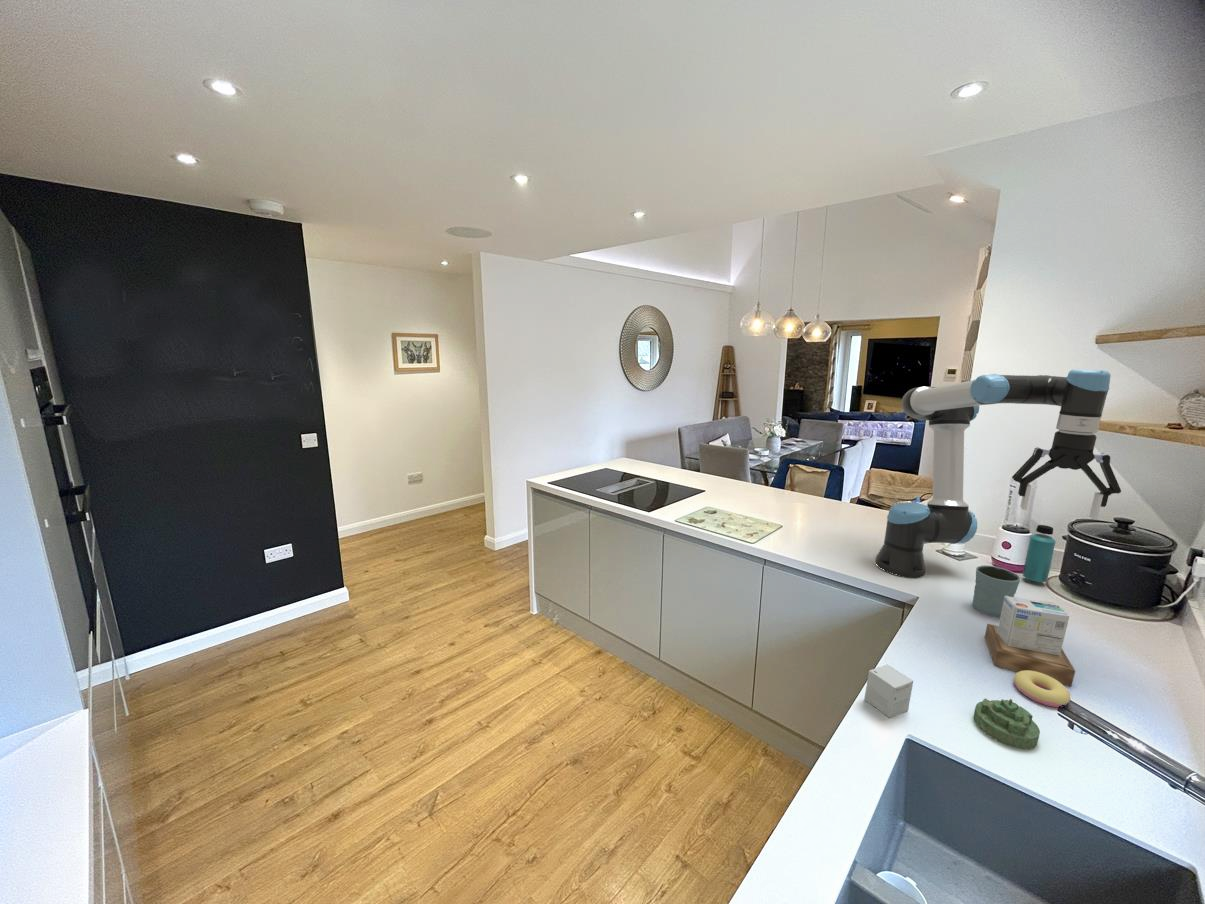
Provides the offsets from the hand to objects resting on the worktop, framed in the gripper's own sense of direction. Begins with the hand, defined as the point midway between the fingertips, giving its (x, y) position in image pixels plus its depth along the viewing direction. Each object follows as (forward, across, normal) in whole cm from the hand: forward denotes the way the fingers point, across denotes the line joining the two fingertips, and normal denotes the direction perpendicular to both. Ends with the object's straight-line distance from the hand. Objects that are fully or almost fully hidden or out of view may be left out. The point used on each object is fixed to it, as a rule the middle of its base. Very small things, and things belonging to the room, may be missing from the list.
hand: (1057, 513), depth 123 cm
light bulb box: (+31, -4, -16) cm, 35 cm away
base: (+35, -4, -16) cm, 38 cm away
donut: (+35, -4, -30) cm, 46 cm away
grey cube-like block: (+35, -34, -53) cm, 72 cm away
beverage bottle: (+35, +9, +41) cm, 55 cm away
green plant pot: (+35, -7, +10) cm, 37 cm away
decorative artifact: (+35, -13, -48) cm, 61 cm away
